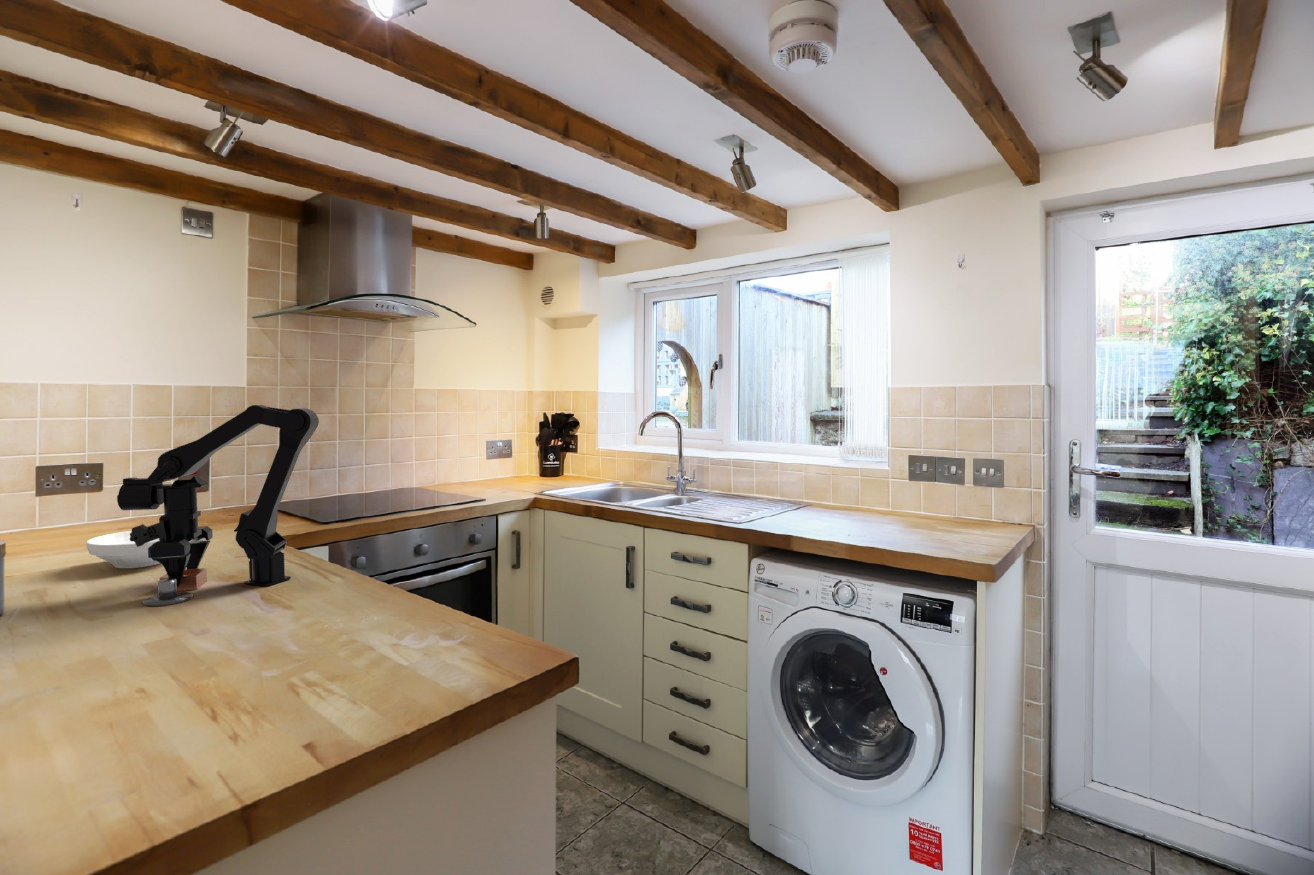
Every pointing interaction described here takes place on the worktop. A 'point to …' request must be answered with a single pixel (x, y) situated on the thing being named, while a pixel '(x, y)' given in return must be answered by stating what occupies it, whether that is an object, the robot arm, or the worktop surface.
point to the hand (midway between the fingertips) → (184, 581)
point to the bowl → (121, 550)
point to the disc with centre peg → (167, 594)
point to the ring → (191, 579)
